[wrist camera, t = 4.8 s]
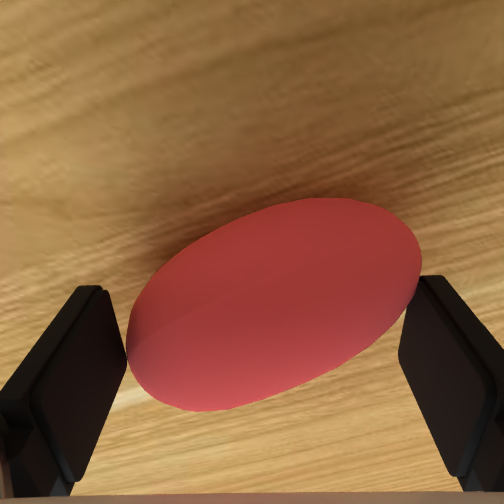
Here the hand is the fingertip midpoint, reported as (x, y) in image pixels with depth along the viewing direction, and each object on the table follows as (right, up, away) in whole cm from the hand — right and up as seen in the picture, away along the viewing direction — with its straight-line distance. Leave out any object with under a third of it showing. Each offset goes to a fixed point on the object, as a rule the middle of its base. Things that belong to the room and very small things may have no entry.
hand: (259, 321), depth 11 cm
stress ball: (0, +2, +2) cm, 3 cm away
